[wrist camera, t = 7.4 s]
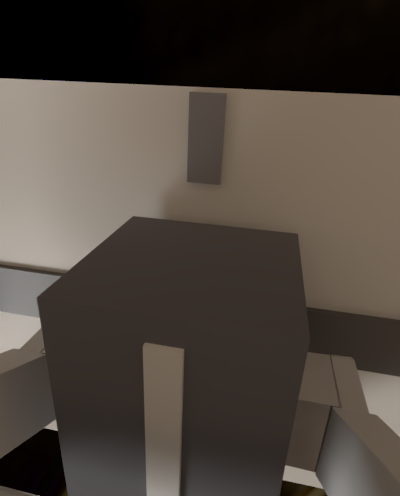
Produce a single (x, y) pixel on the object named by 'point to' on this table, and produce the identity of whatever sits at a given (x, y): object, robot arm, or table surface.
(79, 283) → the fader knob
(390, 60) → the table surface
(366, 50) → the table surface
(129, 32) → the table surface
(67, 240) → the fader console
